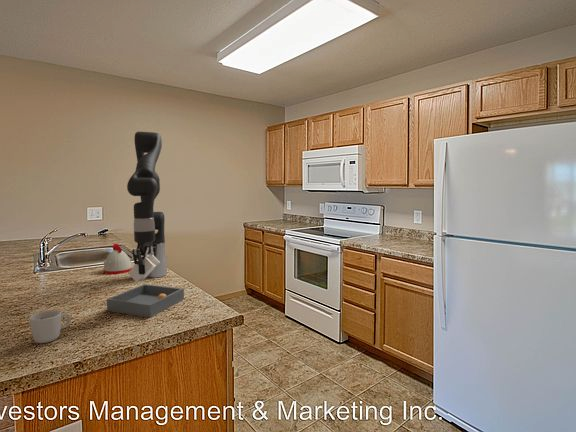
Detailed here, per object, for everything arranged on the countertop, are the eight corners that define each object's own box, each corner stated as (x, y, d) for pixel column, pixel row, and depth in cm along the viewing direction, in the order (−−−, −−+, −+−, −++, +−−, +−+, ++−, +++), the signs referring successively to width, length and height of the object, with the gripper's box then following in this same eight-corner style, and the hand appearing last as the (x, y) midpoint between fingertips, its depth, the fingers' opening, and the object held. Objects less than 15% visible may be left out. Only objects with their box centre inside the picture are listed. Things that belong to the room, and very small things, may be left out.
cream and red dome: (123, 266, 195) (122, 240, 194) (137, 270, 187) (136, 243, 186) (98, 271, 184) (97, 244, 182) (111, 275, 176) (110, 247, 174)
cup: (65, 328, 113) (64, 305, 112) (76, 335, 108) (75, 310, 107) (26, 341, 104) (24, 316, 103) (37, 348, 99) (35, 322, 98)
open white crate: (127, 273, 131) (143, 255, 130) (135, 269, 137) (151, 253, 135) (136, 282, 131) (153, 265, 130) (144, 278, 136) (160, 262, 135)
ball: (163, 305, 135) (161, 299, 137) (169, 299, 135) (167, 293, 137) (157, 302, 132) (155, 296, 135) (163, 295, 132) (161, 290, 135)
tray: (144, 294, 147) (144, 284, 147) (184, 299, 141) (183, 288, 141) (107, 310, 128) (106, 299, 128) (150, 317, 122) (150, 305, 122)
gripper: (143, 232, 124) (144, 277, 126) (162, 227, 138) (164, 267, 140) (124, 231, 125) (126, 276, 127) (145, 226, 139) (147, 267, 141)
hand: (146, 271), depth 133 cm, fingers closed on open white crate, 5 cm apart
